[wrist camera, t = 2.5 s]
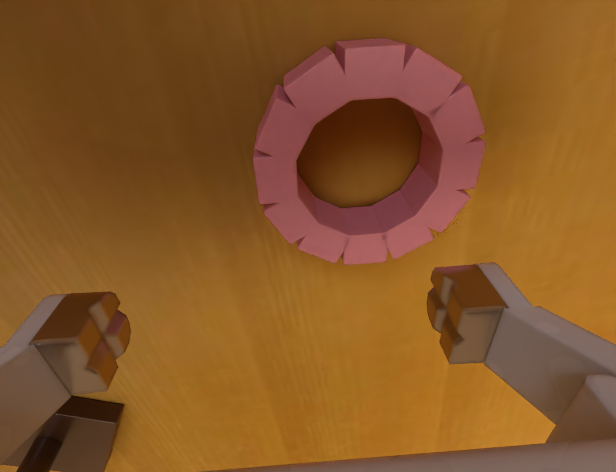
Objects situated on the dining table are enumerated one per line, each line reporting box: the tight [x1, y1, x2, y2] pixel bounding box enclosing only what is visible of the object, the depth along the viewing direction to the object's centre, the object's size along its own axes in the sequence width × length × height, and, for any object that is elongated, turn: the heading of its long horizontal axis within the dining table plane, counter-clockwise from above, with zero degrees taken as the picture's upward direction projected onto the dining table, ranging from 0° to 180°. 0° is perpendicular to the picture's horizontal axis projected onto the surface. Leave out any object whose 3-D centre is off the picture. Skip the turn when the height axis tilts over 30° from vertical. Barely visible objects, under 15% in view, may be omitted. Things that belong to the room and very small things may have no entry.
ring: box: [253, 38, 486, 265], centre depth 16 cm, size 10×10×3 cm
